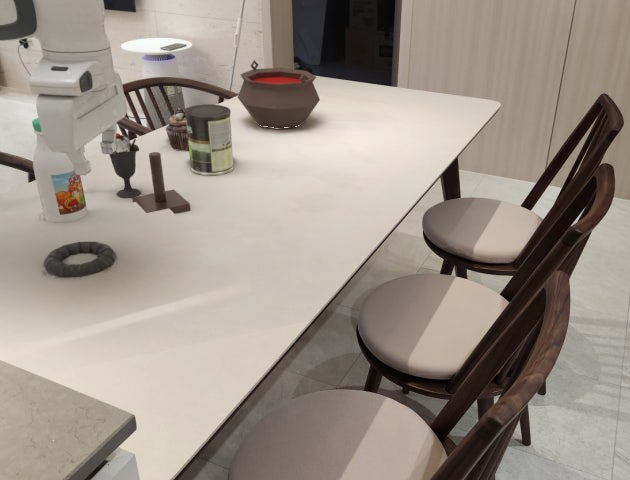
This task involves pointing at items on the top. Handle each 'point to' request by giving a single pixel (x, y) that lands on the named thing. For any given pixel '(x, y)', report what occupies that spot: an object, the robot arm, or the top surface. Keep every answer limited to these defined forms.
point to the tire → (103, 261)
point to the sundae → (125, 164)
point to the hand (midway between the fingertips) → (97, 162)
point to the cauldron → (278, 96)
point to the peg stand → (160, 192)
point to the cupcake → (178, 130)
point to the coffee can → (209, 139)
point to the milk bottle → (57, 182)
